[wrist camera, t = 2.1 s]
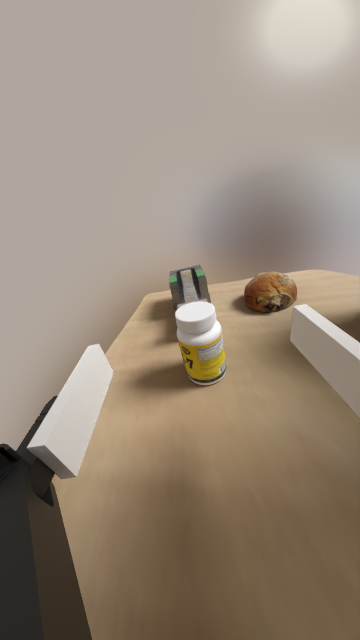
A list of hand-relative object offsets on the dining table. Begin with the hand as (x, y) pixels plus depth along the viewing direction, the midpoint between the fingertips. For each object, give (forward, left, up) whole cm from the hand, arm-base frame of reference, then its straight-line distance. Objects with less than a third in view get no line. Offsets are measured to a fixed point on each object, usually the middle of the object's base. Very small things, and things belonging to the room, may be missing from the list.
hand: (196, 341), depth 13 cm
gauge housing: (-9, -31, -13) cm, 35 cm away
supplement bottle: (-3, -10, -13) cm, 17 cm away
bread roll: (-22, -21, -13) cm, 34 cm away
